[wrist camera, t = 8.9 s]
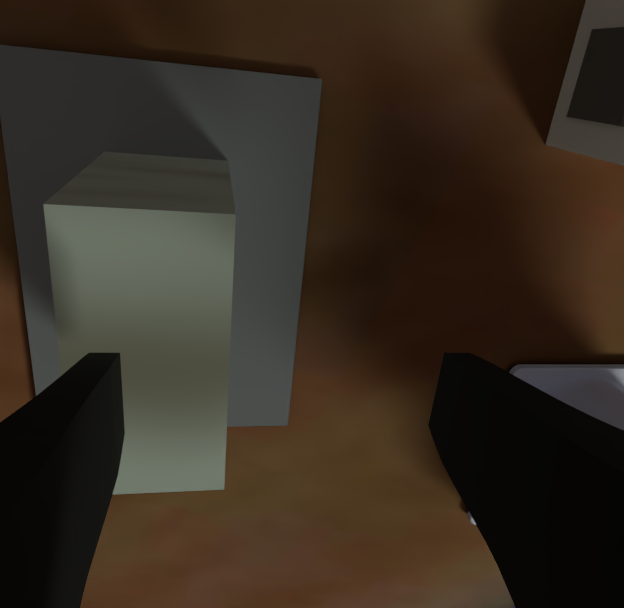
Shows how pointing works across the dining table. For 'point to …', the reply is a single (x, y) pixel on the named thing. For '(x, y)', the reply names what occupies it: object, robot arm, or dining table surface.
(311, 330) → the dining table surface
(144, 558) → the dining table surface
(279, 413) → the slate mat
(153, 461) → the pale green block
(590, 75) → the marked cube
